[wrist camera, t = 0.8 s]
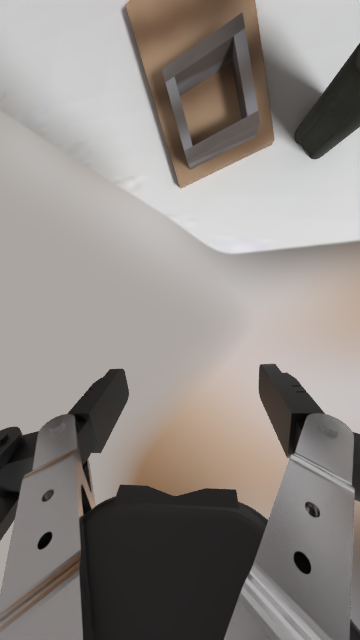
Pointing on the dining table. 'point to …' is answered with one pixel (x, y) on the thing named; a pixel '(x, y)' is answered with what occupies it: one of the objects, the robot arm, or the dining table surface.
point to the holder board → (204, 80)
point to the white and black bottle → (333, 111)
